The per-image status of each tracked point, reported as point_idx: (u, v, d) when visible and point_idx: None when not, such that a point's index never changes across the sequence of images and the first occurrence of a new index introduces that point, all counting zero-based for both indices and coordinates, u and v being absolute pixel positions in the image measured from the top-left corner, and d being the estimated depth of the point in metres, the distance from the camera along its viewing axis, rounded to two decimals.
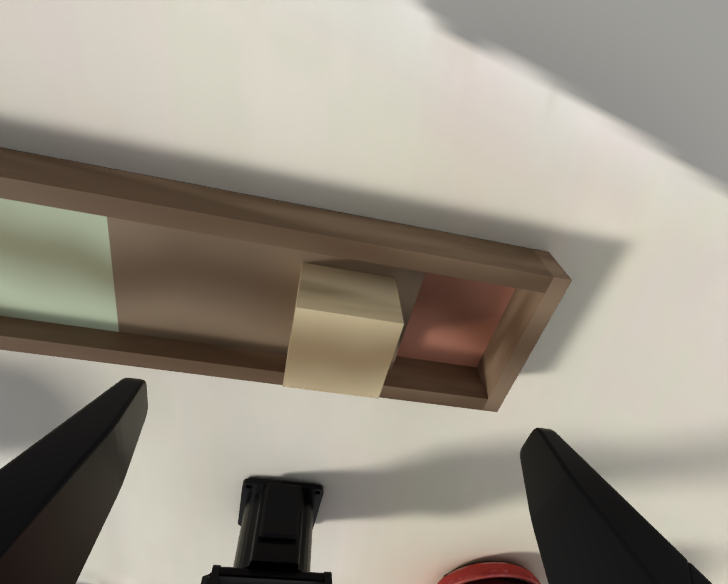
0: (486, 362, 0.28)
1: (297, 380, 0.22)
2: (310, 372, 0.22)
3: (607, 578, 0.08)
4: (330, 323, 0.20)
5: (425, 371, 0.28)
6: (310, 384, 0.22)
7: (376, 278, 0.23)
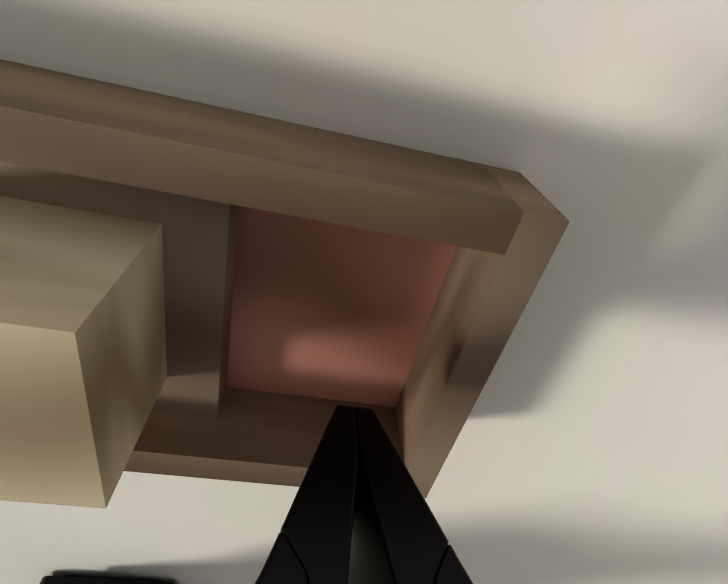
0: (407, 401, 0.15)
1: None
2: None
3: (370, 562, 0.07)
4: None
5: (288, 419, 0.14)
6: None
7: (106, 222, 0.10)
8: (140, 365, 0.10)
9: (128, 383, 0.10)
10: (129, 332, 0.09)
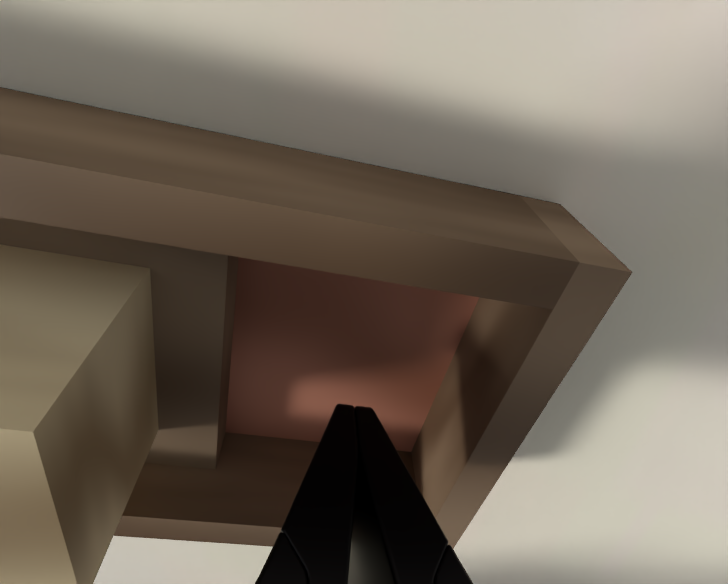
0: (425, 449, 0.13)
1: None
2: None
3: (370, 563, 0.07)
4: None
5: (294, 470, 0.13)
6: None
7: (84, 268, 0.08)
8: (125, 431, 0.09)
9: (111, 456, 0.08)
10: (110, 401, 0.08)
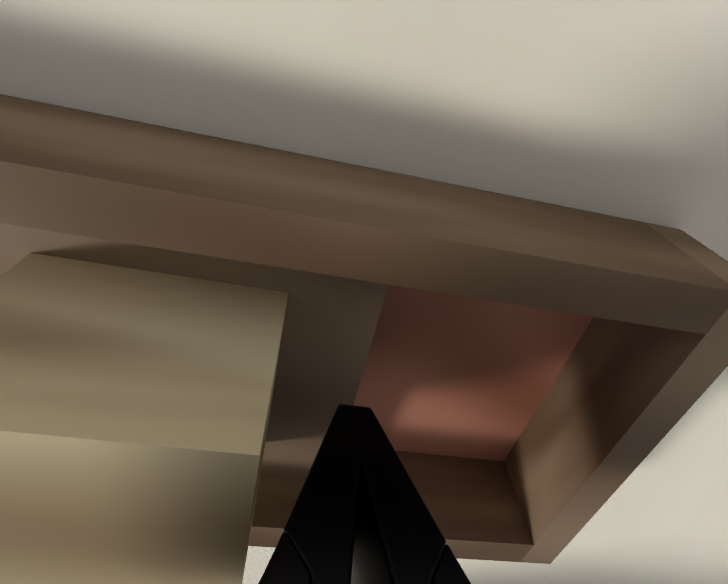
0: (526, 459, 0.14)
1: None
2: (14, 573, 0.07)
3: (368, 563, 0.07)
4: None
5: None
6: None
7: (233, 294, 0.09)
8: None
9: (259, 471, 0.09)
10: (267, 420, 0.08)
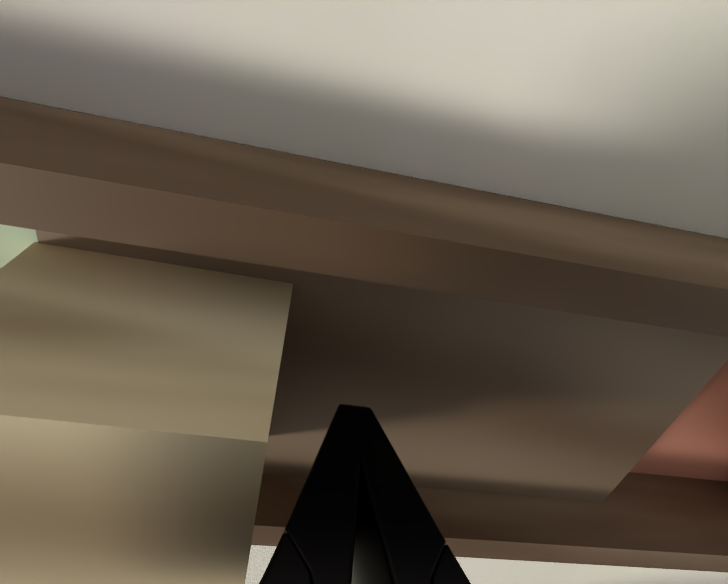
0: None
1: None
2: (17, 562, 0.07)
3: (367, 562, 0.07)
4: (3, 444, 0.06)
5: (657, 501, 0.15)
6: None
7: (238, 284, 0.09)
8: None
9: None
10: None
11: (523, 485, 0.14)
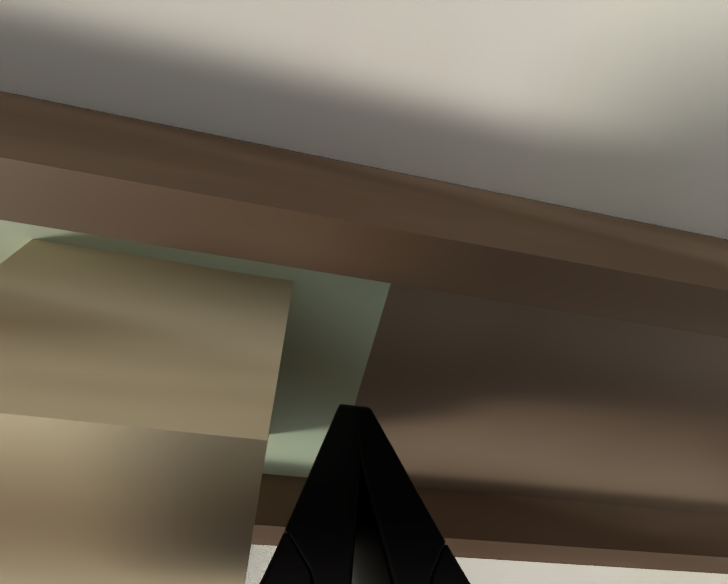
0: None
1: None
2: (16, 562, 0.07)
3: (367, 562, 0.07)
4: (0, 442, 0.06)
5: None
6: None
7: (238, 282, 0.09)
8: None
9: None
10: (272, 409, 0.08)
11: (710, 503, 0.15)
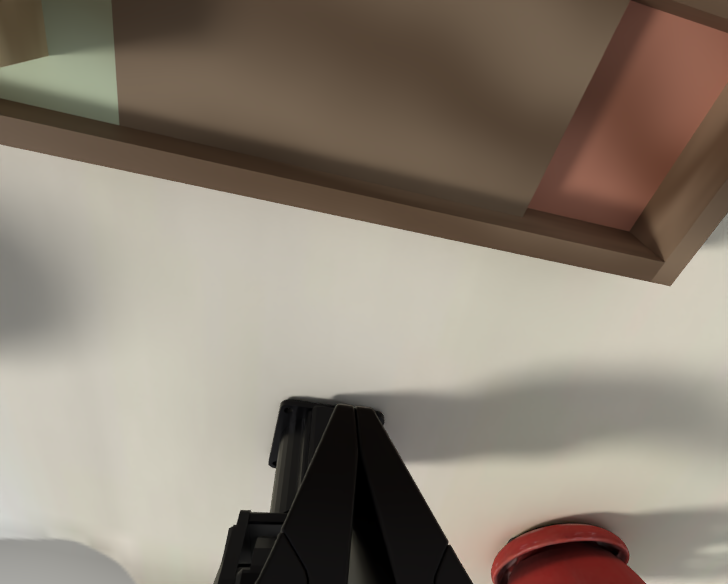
0: (654, 216, 0.19)
1: None
2: None
3: (369, 562, 0.07)
4: None
5: (567, 225, 0.19)
6: None
7: None
8: None
9: None
10: None
11: (459, 189, 0.18)
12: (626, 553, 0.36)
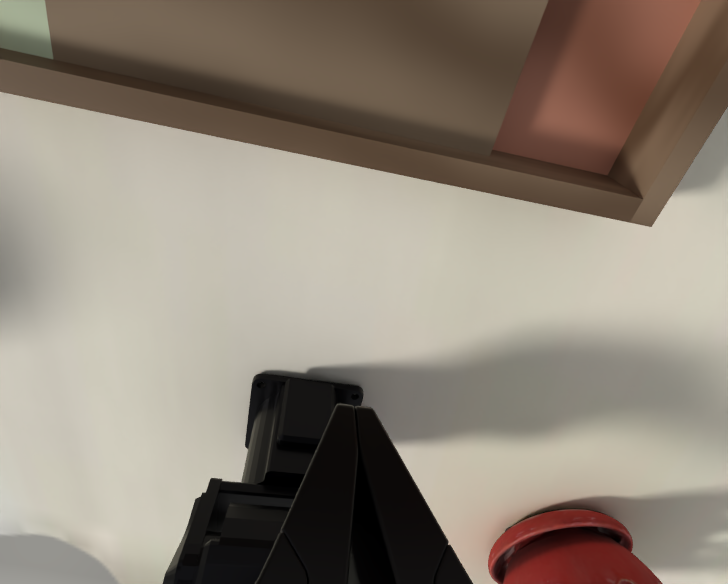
0: (632, 154, 0.18)
1: None
2: None
3: (370, 562, 0.07)
4: None
5: (539, 165, 0.18)
6: None
7: None
8: None
9: None
10: None
11: (419, 125, 0.17)
12: (629, 540, 0.34)
